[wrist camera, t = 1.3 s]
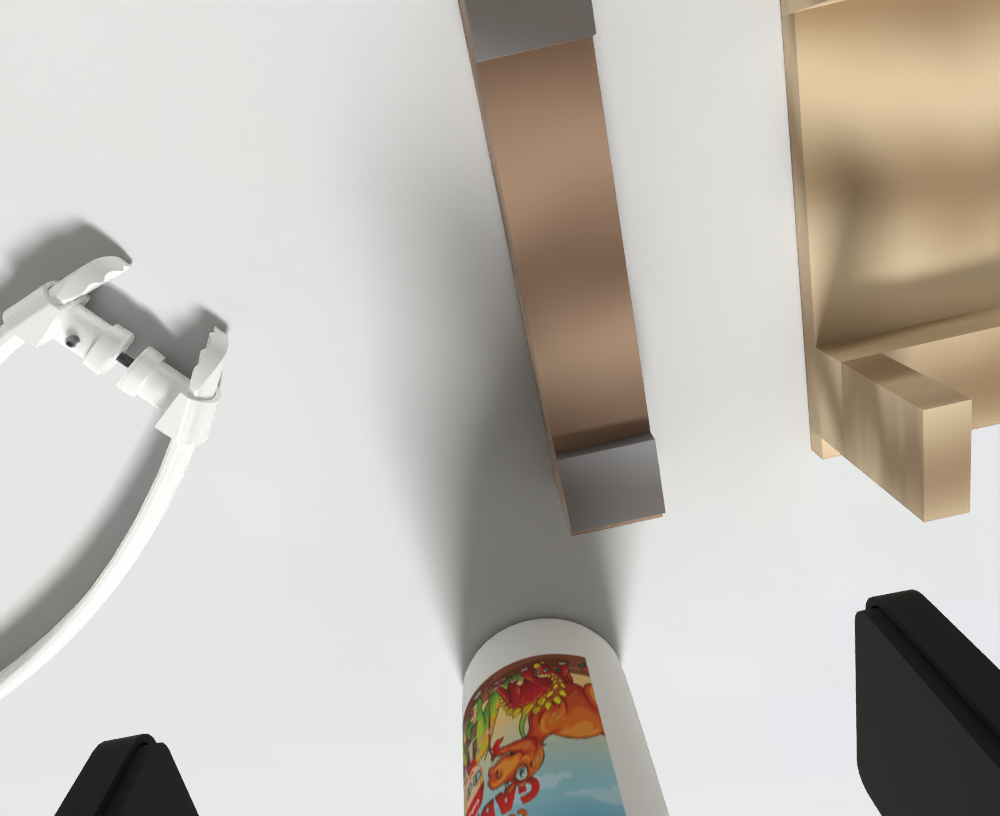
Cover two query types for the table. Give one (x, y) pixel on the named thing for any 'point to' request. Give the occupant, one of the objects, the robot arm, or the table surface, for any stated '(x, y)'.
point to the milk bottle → (553, 728)
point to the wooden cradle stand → (898, 234)
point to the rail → (566, 251)
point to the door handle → (148, 376)
